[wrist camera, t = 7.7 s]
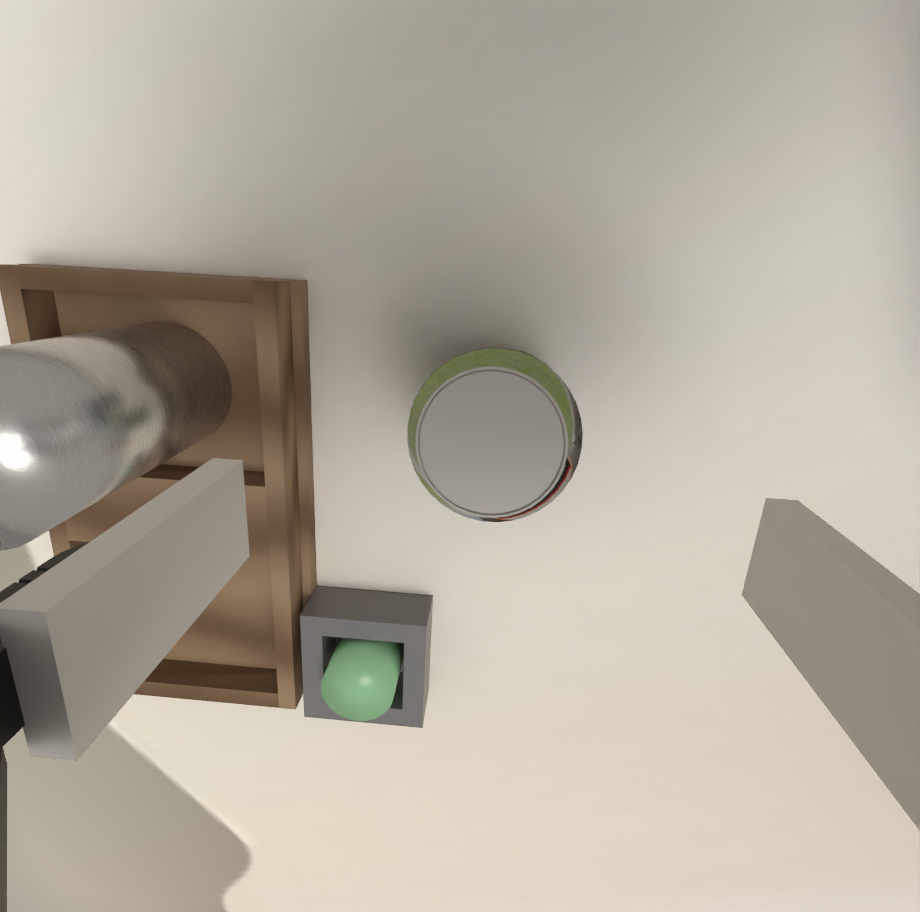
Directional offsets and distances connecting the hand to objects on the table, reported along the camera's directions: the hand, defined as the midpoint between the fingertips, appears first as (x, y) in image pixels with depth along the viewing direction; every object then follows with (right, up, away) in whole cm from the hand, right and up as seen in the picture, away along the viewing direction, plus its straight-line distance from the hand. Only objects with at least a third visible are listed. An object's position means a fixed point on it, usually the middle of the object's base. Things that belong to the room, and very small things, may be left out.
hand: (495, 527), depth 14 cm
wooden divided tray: (-16, 0, +18) cm, 24 cm away
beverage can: (+1, +5, +15) cm, 16 cm away
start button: (-6, -9, +21) cm, 24 cm away
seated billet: (-16, +6, +15) cm, 22 cm away
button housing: (-6, -10, +20) cm, 23 cm away
